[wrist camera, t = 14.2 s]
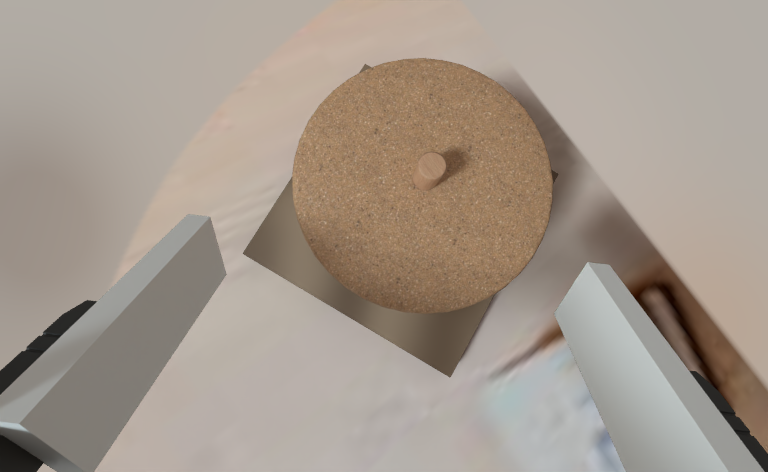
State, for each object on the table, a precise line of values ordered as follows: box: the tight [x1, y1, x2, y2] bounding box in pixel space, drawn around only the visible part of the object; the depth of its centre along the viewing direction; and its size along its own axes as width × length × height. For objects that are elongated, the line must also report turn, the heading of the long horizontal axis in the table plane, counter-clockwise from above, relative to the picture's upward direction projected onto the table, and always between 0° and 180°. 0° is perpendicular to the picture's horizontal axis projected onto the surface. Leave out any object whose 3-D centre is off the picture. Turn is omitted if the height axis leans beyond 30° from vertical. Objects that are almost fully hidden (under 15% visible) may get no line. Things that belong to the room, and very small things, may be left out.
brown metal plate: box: [243, 64, 558, 377], centre depth 21 cm, size 15×15×2 cm
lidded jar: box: [292, 58, 553, 314], centre depth 16 cm, size 11×11×9 cm
